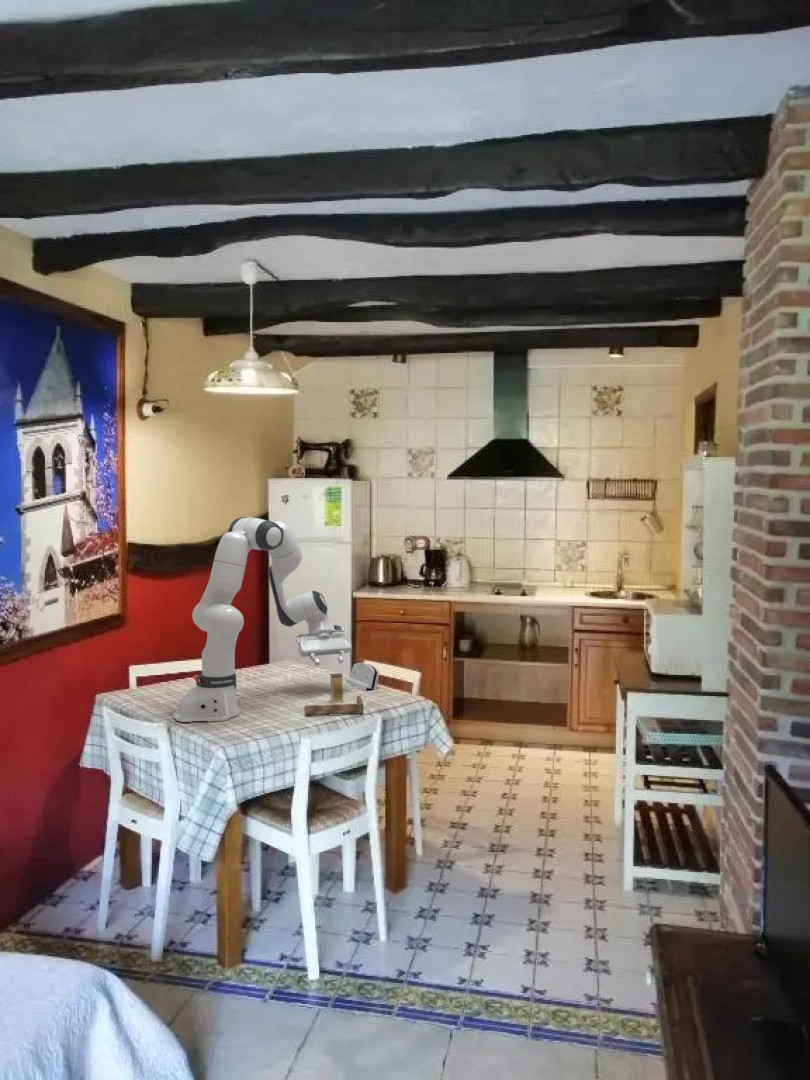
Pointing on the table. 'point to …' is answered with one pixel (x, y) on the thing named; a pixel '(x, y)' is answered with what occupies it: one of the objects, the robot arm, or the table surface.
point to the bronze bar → (336, 687)
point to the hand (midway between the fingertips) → (329, 663)
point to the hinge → (363, 676)
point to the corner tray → (335, 708)
